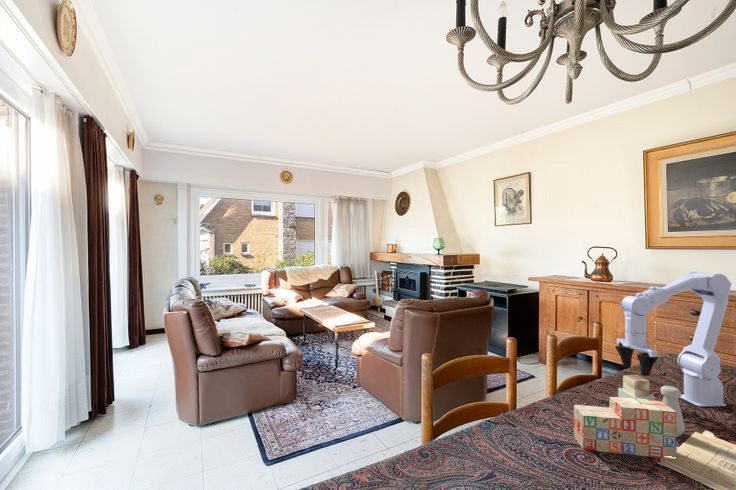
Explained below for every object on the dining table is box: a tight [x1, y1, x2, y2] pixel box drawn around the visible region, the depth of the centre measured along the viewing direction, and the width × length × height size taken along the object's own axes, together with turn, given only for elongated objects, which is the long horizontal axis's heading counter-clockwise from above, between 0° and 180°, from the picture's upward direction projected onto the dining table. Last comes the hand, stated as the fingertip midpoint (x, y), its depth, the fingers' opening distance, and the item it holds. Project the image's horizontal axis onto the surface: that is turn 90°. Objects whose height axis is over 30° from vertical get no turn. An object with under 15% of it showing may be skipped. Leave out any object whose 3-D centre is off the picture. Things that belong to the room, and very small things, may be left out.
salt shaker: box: [660, 385, 686, 438], centre depth 95 cm, size 6×6×13 cm
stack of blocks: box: [573, 396, 678, 459], centre depth 89 cm, size 21×6×12 cm, turn 78°
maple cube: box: [622, 374, 650, 396], centre depth 114 cm, size 5×5×5 cm
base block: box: [617, 387, 656, 401], centre depth 114 cm, size 7×7×3 cm
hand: (635, 371), depth 114 cm, fingers open, 7 cm apart
